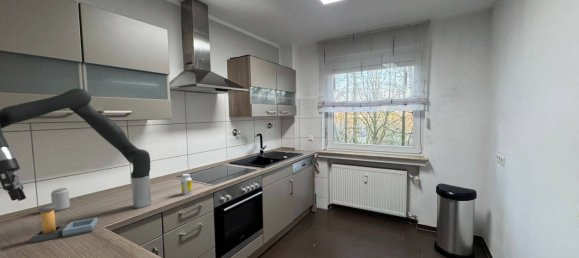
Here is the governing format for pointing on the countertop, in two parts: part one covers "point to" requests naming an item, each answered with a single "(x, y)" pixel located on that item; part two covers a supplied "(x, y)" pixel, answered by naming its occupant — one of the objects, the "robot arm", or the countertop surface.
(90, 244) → the countertop surface
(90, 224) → the parts tray
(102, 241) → the countertop surface
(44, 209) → the stop pin
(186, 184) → the supplement bottle
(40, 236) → the pin collar
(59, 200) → the can
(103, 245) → the countertop surface
